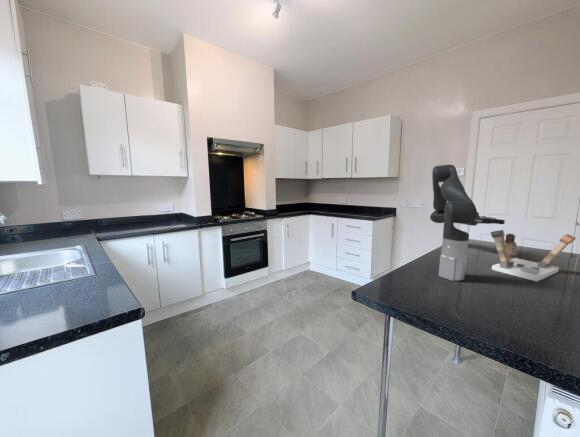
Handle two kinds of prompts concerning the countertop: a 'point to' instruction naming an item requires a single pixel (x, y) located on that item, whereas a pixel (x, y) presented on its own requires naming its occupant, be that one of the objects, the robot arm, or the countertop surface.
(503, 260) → the tan wooden post
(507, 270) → the panel
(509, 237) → the figurine
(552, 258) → the brown long rectangular block
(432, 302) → the countertop surface
